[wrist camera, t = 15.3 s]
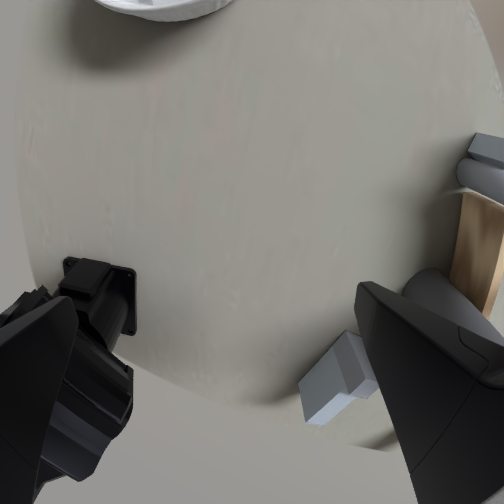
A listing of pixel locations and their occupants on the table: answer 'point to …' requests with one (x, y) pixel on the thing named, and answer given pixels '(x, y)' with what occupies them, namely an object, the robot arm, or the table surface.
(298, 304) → the table surface
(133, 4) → the ramekin
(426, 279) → the gray cylinder
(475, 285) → the door
